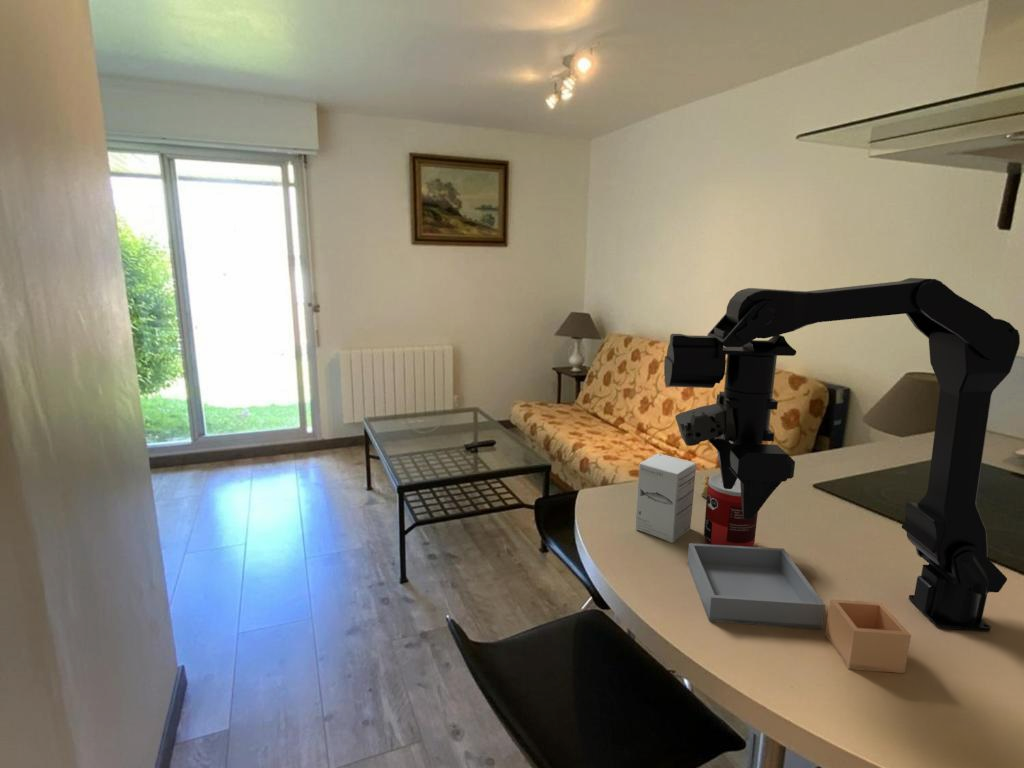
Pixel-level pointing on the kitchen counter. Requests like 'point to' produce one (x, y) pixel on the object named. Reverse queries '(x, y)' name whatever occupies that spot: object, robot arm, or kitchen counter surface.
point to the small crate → (867, 636)
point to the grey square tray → (753, 586)
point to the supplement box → (665, 496)
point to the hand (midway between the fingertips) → (737, 502)
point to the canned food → (727, 516)
